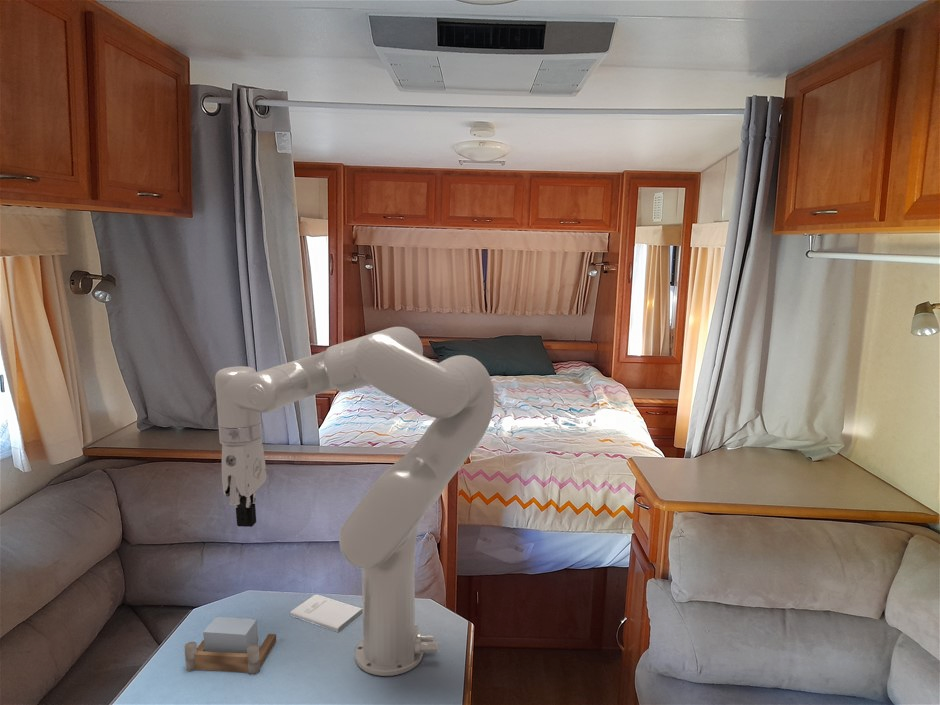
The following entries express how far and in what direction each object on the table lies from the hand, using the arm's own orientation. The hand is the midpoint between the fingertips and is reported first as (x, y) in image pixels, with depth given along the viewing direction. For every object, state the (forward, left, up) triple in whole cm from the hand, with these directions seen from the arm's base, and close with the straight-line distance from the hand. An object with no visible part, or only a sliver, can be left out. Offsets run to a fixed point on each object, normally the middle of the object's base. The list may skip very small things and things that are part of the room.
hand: (246, 524), depth 127 cm
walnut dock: (0, +8, -22) cm, 23 cm away
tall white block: (+1, +8, -22) cm, 24 cm away
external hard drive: (-13, -7, -23) cm, 27 cm away
